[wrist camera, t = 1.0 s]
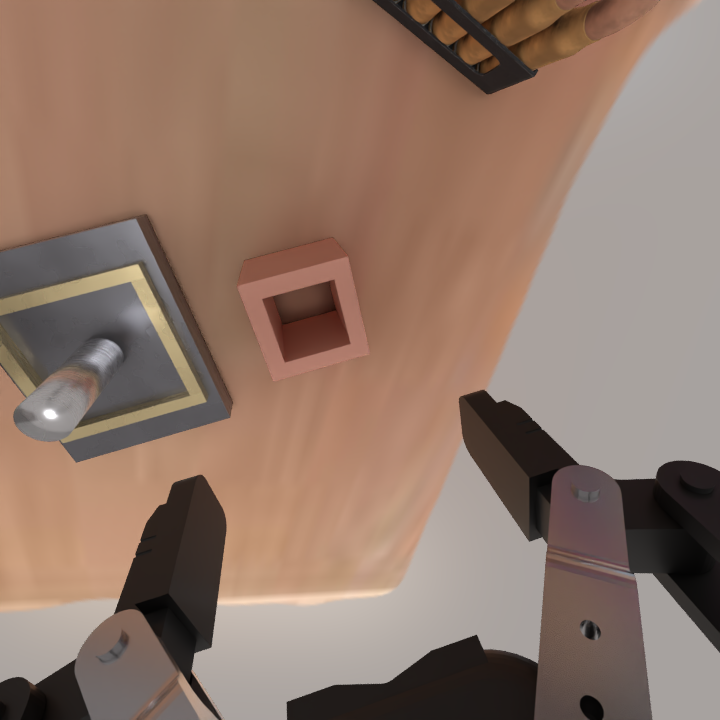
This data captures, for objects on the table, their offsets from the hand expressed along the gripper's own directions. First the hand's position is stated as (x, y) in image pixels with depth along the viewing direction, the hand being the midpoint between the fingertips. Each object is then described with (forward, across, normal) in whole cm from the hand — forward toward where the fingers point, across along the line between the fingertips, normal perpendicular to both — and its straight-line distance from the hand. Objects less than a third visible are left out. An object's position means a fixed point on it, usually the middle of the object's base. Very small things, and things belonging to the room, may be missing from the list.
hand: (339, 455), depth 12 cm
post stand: (+17, +13, 0) cm, 22 cm away
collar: (+17, 0, 0) cm, 17 cm away
